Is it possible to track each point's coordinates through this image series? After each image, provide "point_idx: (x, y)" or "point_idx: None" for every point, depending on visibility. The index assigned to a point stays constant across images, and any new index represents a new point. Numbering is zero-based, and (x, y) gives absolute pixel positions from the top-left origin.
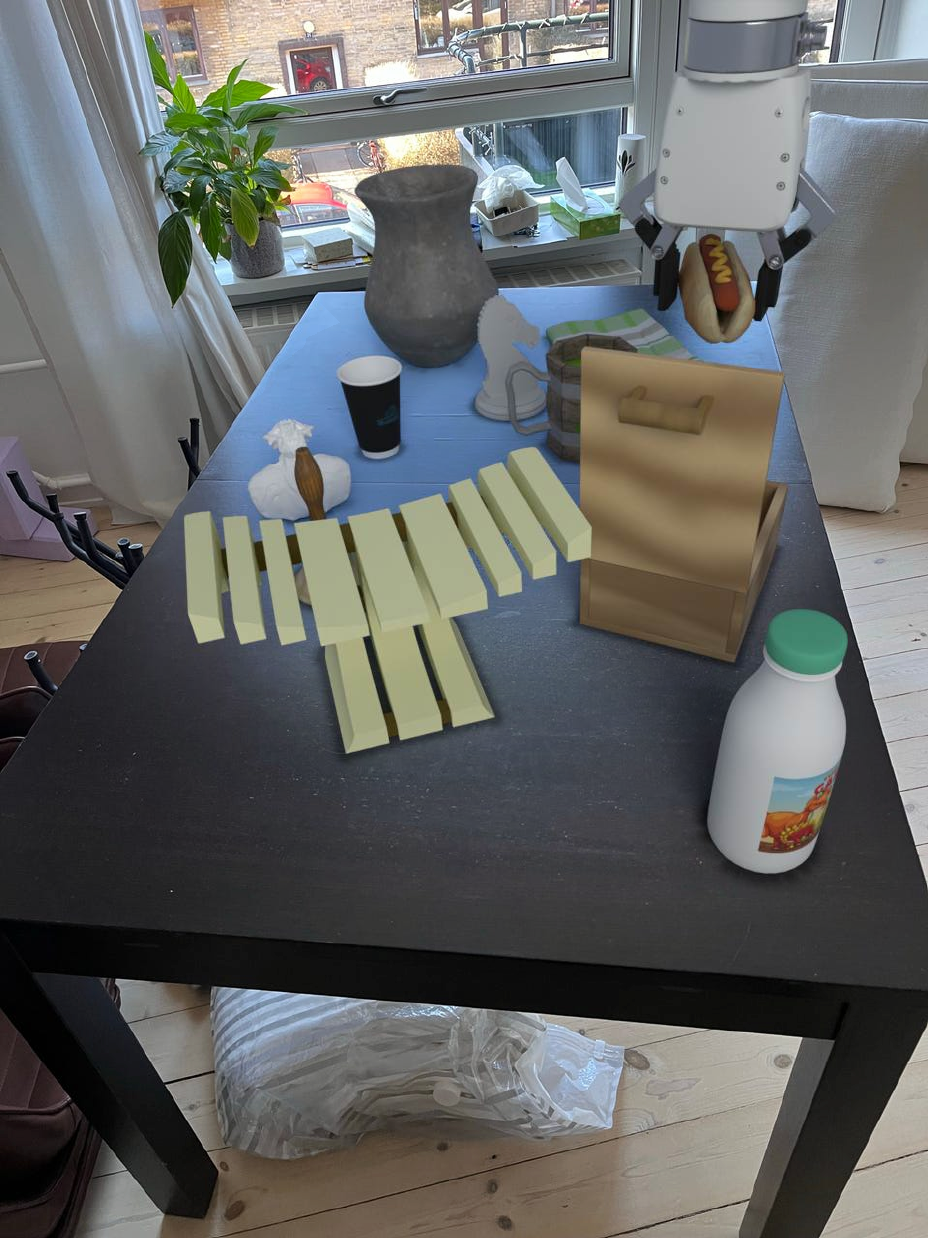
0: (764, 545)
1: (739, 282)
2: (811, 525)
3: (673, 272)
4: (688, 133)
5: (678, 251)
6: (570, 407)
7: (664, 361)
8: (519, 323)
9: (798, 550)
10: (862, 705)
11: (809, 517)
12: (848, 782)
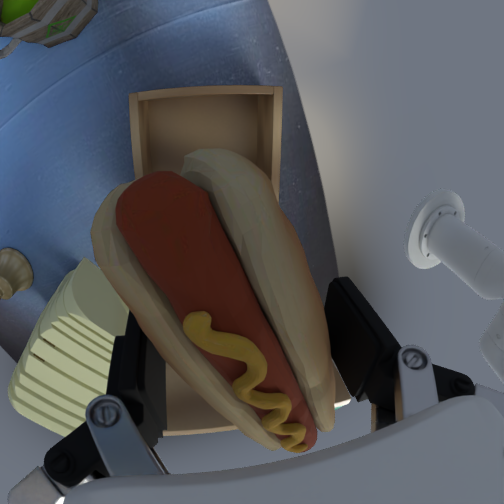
0: (278, 191)
1: (317, 417)
2: (284, 49)
3: (159, 390)
4: None
5: (136, 383)
6: (30, 37)
7: (231, 429)
8: None
9: (280, 85)
10: (330, 227)
11: (280, 39)
12: (323, 275)
